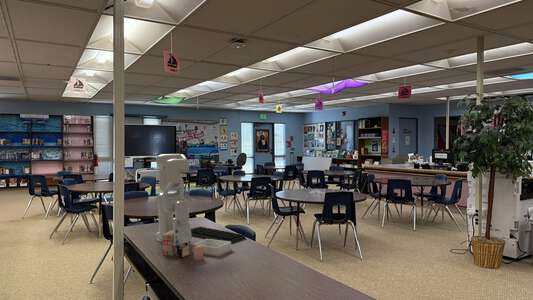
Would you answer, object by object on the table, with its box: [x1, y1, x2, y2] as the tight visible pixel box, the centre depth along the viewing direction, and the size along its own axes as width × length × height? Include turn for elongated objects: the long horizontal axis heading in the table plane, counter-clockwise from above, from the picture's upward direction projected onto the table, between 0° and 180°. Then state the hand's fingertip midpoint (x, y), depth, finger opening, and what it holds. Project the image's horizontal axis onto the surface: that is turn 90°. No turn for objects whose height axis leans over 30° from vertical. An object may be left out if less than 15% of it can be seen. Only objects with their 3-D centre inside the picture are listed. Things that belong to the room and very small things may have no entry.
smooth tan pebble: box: [193, 246, 204, 262], centre depth 201 cm, size 5×5×7 cm
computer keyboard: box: [191, 226, 247, 244], centre depth 250 cm, size 45×16×4 cm, turn 51°
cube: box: [175, 245, 190, 258], centre depth 206 cm, size 5×5×5 cm
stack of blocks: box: [162, 229, 191, 257], centre depth 219 cm, size 21×6×12 cm, turn 164°
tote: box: [191, 239, 232, 257], centre depth 215 cm, size 18×14×5 cm
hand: (182, 254), depth 206 cm, fingers closed on cube, 4 cm apart
